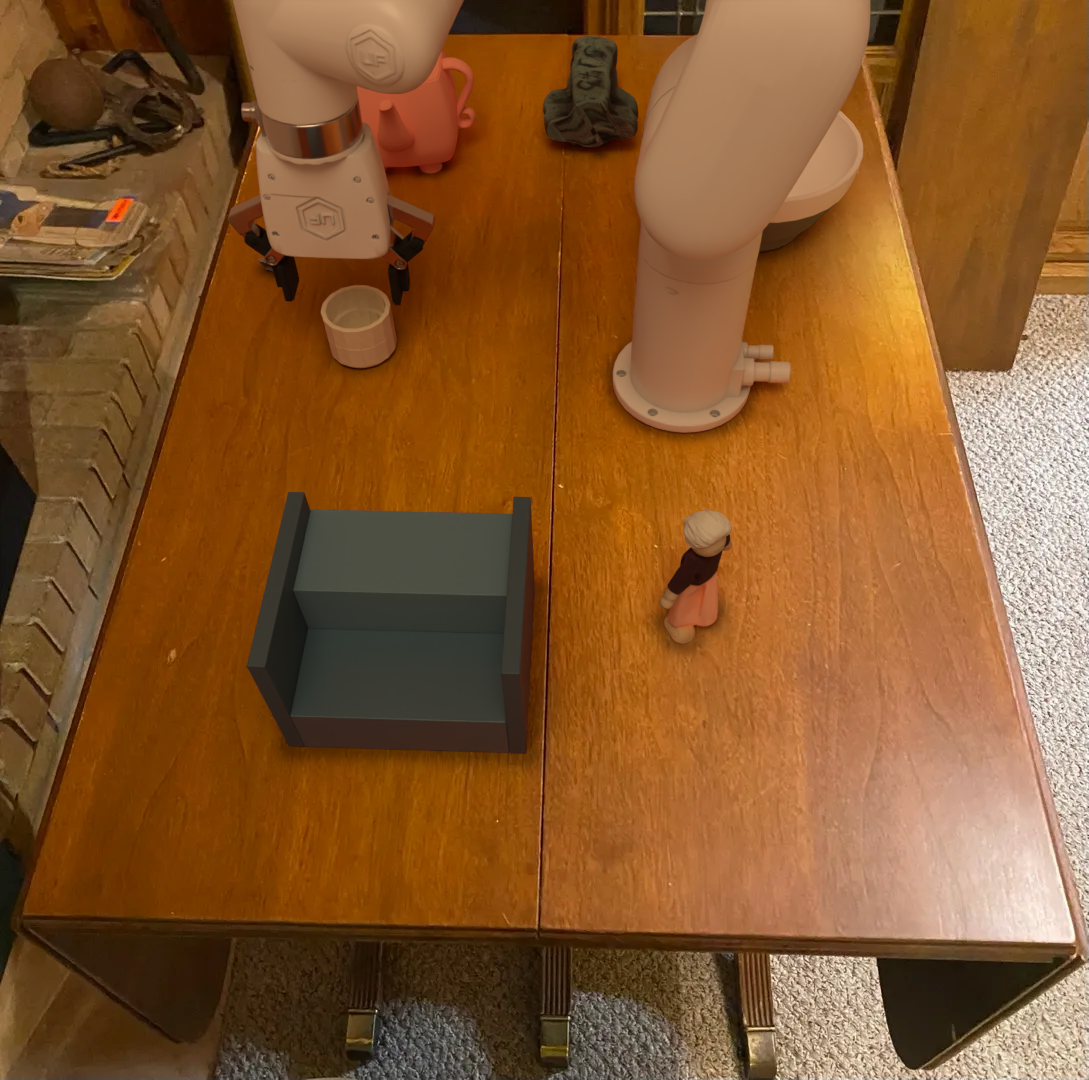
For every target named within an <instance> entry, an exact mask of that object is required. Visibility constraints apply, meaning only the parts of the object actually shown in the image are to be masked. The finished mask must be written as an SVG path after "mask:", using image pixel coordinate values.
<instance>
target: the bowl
mask: <svg viewBox="0 0 1089 1080" xmlns="http://www.w3.org/2000/svg"><path fill="white" fill-rule="evenodd" d="M863 158H864V142H863V139H862V136H861V133H860V131H859V130H858V128H857V127H856V125H855V124H854V123H853V121H852V120H850V118H849V117H848V116H847V115H846V114H845V113H844V112H842V111H841V110H840V111H839V113H838V114H837V116H836V118H835V120H834V121H833V123H832V124H831V126H830V128H829V129H828V131H827V133H826V134H825V136H824V138H823V139H822V141H821V142H820V144H819V146H818V147H817V149H816V151H815V152H814V154H813V156H812V157H811V159H810V160H809V162H808V164H807V165H806V167H805V169H804V170H803V172H802V173H801V175H800V177H799V178H798V180H797V182H796V183H795V185H794V186H793V188H792V190H791V191H790V193H789V194H788V196H787V198H786V199H785V201H784V202H783V204H782V206H781V207H780V209H779V210H778V212H777V213H776V215H775V216H774V217H773V219H772V220H771V221H770V223H769V224H768V225H767V226H766V227H765V229H764V230H763V233H762V238H761V243H760V249H759V253H761V252H770V251H772V250H777V249H780V248H782V247H784V246H786V245H788V244H790V243H791V242H792V241H793V240H795V239H796V238H797V237H798V236H799V234H801V233H802V232H804V231H806V230H807V229H809V228H810V227H811V226H813V225H815V223H817V221H818V220H820V218H821V217H822V216H824V215H825V214H827V213H828V212H829V211H830V210H831V209H832V208H833V207H834V206H835V205H836V204H837V203H839V201H841V199H842V198H843V197H844V196H845V195H846V193H847V192H848V191H849V189H850V187H851V185H853V182H854V180H856V179H855V178H856V176H857V175H858V171H859V169H860V167H861V163H862V161H863Z"/></svg>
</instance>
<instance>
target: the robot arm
mask: <svg viewBox="0 0 1089 1080" xmlns="http://www.w3.org/2000/svg"><path fill="white" fill-rule="evenodd" d="M464 1H465V0H232V3H233V7H234V11H235V15H236V19H237V24H238V28H239V32H240V36H241V40H242V45H243V50H244V53H245V57H246V61H247V66H248V69H249V74H250V79H251V82H252V87H253V90H254V91H253V92H254V95H255V100H252V101H251V102H242V103H241V107H240V111H241V118H242V120H243V121H244V122H251V123H253V124H254V125H255V124H256V125H257V126H258V127H259V129H260V133H259V134H258V137H257V139H256V142H255V159H256V173H257V181H258V189H259V194H258V195H256V196H254V197H251V198H249V199H247V200H245V201H243V202H241V203H238V204H236V205H234V206H232V207H230V210H229V213H228V217H227V222H228V223H229V224H230V226H232V228H233V229H234V230H235V231H236V232H237V234H238V235H239V236H242V238H244V241H243V242H244V243H245V245H247V246H248V247H250V248H251V249H252V250H254V251H255V252H257V253H258V254H259V255H261V256H263V257H264V258H263V259H264V260H265V262H266V263H267V264H269V265H271V266H272V269H273V271H272V272H273V277H274V280H275V284H276V287H277V288H281V289H282V290H281V291H282V293H283V298H284V301H285V302H293V301H295V299H296V295H297V291H298V288H299V285H300V275H299V271H298V267H297V263H296V259H295V258H311V259H312V258H315V259H339V260H340V259H345V260H346V259H347V260H348V259H349V260H374V259H379V258H383V259H384V260H385V261H386V262H387V263H389V264H388V268H387V276H388V282H389V283H388V284H389V289H390V297H391V302H392V304H394V306H401V305H402V302H403V295H404V292H406V293H407V292H410V288H411V277H410V276H411V275H410V268H409V263H410V262H411V261H412V260H413V259H414V258H416V256H417V255H419V254H420V253H421V252H422V251H423V250H424V247H425V244H426V242H427V241H428V239H429V237H430V235H431V234H432V232H433V230H434V228H435V227H434V226H435V220H436V217H435V215H434V214H433V213H431V212H429V211H427V210H424V209H422V208H420V207H418V206H416V205H414V204H411V203H409V202H406V201H405V200H402V199H400V198H398V197H396V196H393V195H391V191H390V186H389V181H388V178H387V177H388V176H387V173H386V171H385V169H384V165H383V162H382V159H381V155H380V152H379V149H378V146H377V143H376V141H375V138H374V136H373V133H372V131H371V129H370V127H369V125H368V124H366V123H362V117H361V110H360V104H359V97H358V91H357V86H359V87H361V88H364V89H368V90H371V91H375V92H379V93H384V94H403V93H407V92H410V91H413V90H415V89H416V88H418V87H419V86H421V85H422V84H423V83H424V82H425V81H426V80H427V79H428V77H429V76H430V74H431V73H432V71H433V69H434V67H435V65H436V63H437V60H438V58H439V56H440V53H441V51H442V49H444V46H445V44H446V42H447V39H448V37H449V33H450V31H451V29H452V27H453V25H454V23H455V20H456V18H457V16H458V13H459V12H460V9H461V7H462V6H463V4H464ZM870 28H871V0H705V6H704V11H703V16H702V20H701V23H700V26H699V30H698V33H696V34H694V35H693V36H690V37H689V38H688V39H686V40H684V41H683V42H682V43H680V45H678V46H677V47H676V48H675V49H674V50H673V51H672V52H671V53H670V55H669V56H668V57H667V58H666V59H665V61H664V62H663V64H662V66H661V67H660V69H659V70H658V72H657V75H656V77H655V80H654V83H653V84H652V88H651V92H650V95H649V99H648V104H647V109H646V113H645V119H644V123H643V128H642V129H643V130H642V136H641V143H640V149H639V153H638V158H637V162H636V167H635V174H634V181H633V194H634V203H635V208H636V211H637V214H638V217H639V219H640V226H639V227H640V228H639V241H638V249H637V250H638V251H637V267H636V281H635V292H634V293H635V294H634V308H633V321H632V322H633V323H632V336H631V341H630V342H628V343H627V344H626V345H624V346H623V348H622V349H621V351H620V352H619V353H618V355H617V357H616V359H615V361H614V364H613V367H612V368H613V369H612V386H613V392H614V395H615V396H616V399H617V401H618V403H620V405H621V406H622V408H623V409H624V410H625V411H626V412H627V413H628V414H630V415H631V416H632V417H633V418H635V419H636V420H638V421H640V422H642V424H645V425H647V426H650V427H653V428H655V429H658V430H662V431H667V432H670V433H671V432H672V433H683V434H684V433H686V434H687V433H698V432H699V433H700V432H704V431H708V430H713V429H715V428H717V427H720V426H722V425H724V424H726V423H727V422H730V421H731V420H732V419H733V418H735V417H736V416H737V415H738V414H739V413H740V412H741V411H742V409H743V408H744V407H745V405H746V403H747V400H748V398H749V395H750V393H751V392H750V391H751V387H752V386H753V385H754V382H762V383H763V382H767V383H768V384H789V382H790V379H791V362H790V361H786V360H785V361H783V360H781V361H780V360H777V361H776V360H773V359H774V354H775V347H774V344H757V345H755V344H753V345H752V344H751V345H750V344H748V342H747V341H743V337H744V330H745V325H746V319H747V315H748V308H749V305H750V298H751V293H752V288H753V283H754V279H755V278H754V277H755V273H756V272H755V271H756V266H757V261H758V257H759V254H760V252H759V249H760V243H761V238H762V233H763V230H764V229H765V227H766V226H767V225H768V224H769V223H770V221H771V220H772V219H773V217H774V216H775V215H776V213H777V212H778V210H779V209H780V207H781V206H782V204H783V202H784V201H785V199H786V198H787V196H788V194H789V193H790V191H791V190H792V188H793V186H794V185H795V183H796V182H797V180H798V178H799V177H800V175H801V173H802V172H803V170H804V169H805V167H806V165H807V164H808V162H809V160H810V159H811V157H812V156H813V154H814V152H815V151H816V149H817V147H818V146H819V144H820V142H821V141H822V139H823V138H824V136H825V134H826V133H827V131H828V129H829V128H830V126H831V124H832V123H833V121H834V120H835V118H836V116H837V114H838V113H839V111H841V110H842V108H843V106H844V104H845V102H846V101H847V99H848V97H849V95H850V94H851V91H852V89H853V87H854V85H855V82H856V81H857V80H856V79H857V77H858V74H859V73H860V69H861V67H862V64H863V61H864V58H865V54H866V51H867V47H868V42H869V36H870V30H871V29H870ZM262 217H263V222H264V227H263V226H261V225H260V224H258V223H255V220H257V219H259V218H262ZM394 221H397V222H398V223H400V224H403V225H406V226H407V227H410V228H412V230H411V231H410V232H409V233H408V234H407V235H406V236H404V235H403V234H402V233H401V232H400V231H399V230H397V229H396V228H395V227H394V226H393V224H394ZM755 360H757V361H755ZM763 360H764V361H766V362H763Z"/></svg>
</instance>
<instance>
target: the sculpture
mask: <svg viewBox="0 0 1089 1080" xmlns="http://www.w3.org/2000/svg"><path fill="white" fill-rule="evenodd" d="M618 53H619V48H618V45H617V43H616V41H614V40H613V39H611V38H608V37H603V36H598V35H583V36H580V37H577V38H576V39H574V41H573V43H572V45H571V59H570V65H569V68H570V70H569V75H568V78H567V84H566V87H563V88H559V89H553V90H551V91H550V92H549V93H548V94H546V96H545V97H544V99H543V104H542V113H543V115H544V116H543V124H544V131H545V134H546V137H548V138H549V139H551V140H553V141H556V142H568V143H570V144H571V146H573V147H575V148H600V147H606V146H607V145H609V144H610V142H611V141H612V140H628V139H631V138H634V137H636V135H637V133H638V129H639V124H638V123H639V122H638V120H639V107H638V102H637V100H636V99H635V97H634V96H633V95H632V94H631V93H629V92H627V90H625V89H623V88H622V87H619V81H618V69H617V64H618V56H619V54H618Z"/></svg>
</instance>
